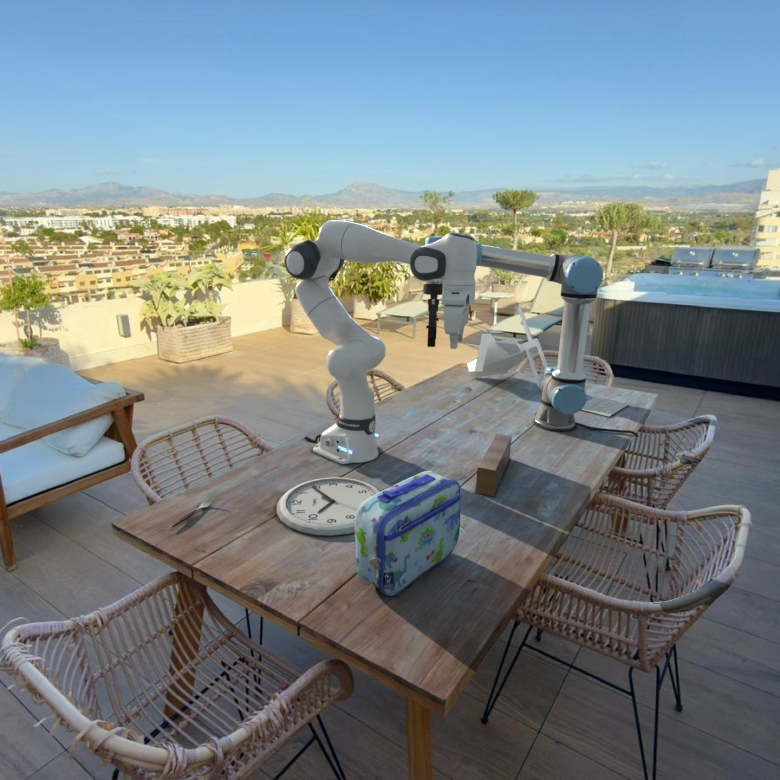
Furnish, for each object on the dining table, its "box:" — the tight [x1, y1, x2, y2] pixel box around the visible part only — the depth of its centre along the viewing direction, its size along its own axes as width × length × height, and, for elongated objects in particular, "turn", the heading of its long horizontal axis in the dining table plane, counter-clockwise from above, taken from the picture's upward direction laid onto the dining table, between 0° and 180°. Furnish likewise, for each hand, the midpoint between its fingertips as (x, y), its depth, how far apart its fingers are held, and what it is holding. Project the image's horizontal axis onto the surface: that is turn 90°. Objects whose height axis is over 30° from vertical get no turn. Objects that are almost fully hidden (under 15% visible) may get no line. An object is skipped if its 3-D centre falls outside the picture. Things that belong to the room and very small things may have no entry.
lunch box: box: [354, 470, 461, 597], centre depth 113 cm, size 26×11×21 cm, turn 134°
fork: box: [171, 493, 217, 529], centre depth 137 cm, size 3×16×2 cm, turn 160°
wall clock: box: [276, 476, 382, 537], centre depth 142 cm, size 30×2×30 cm
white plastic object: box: [466, 306, 549, 391], centre depth 258 cm, size 37×45×31 cm
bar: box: [475, 433, 513, 497], centre depth 161 cm, size 28×5×8 cm, turn 158°
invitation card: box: [580, 396, 629, 418], centre depth 226 cm, size 21×1×15 cm
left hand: (456, 344), depth 146 cm, fingers open, 8 cm apart
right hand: (431, 342), depth 188 cm, fingers open, 13 cm apart
